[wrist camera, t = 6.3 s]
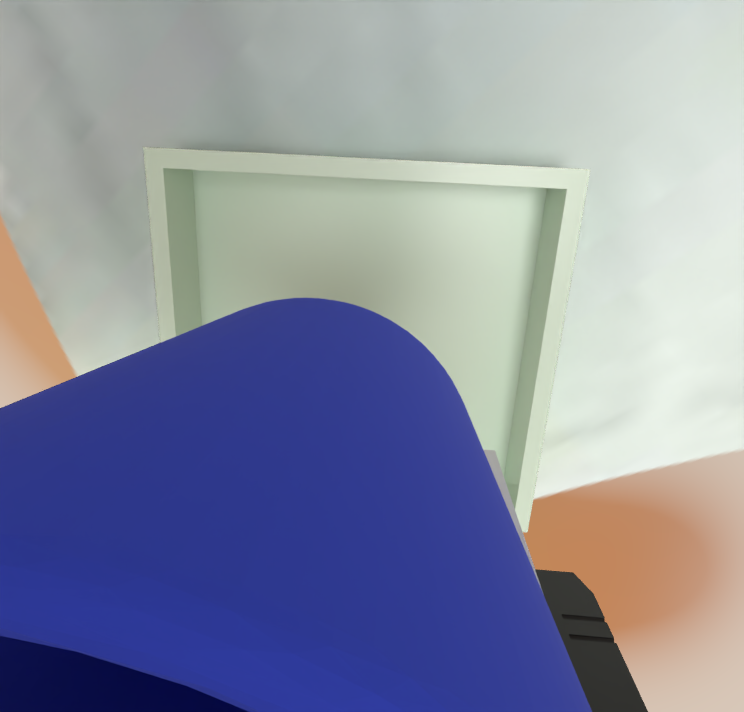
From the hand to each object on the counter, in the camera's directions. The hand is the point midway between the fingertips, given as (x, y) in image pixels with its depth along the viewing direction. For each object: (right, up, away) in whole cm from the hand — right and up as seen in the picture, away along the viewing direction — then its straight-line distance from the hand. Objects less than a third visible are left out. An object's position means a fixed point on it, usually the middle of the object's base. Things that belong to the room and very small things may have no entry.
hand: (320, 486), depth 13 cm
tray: (+1, +4, +15) cm, 16 cm away
